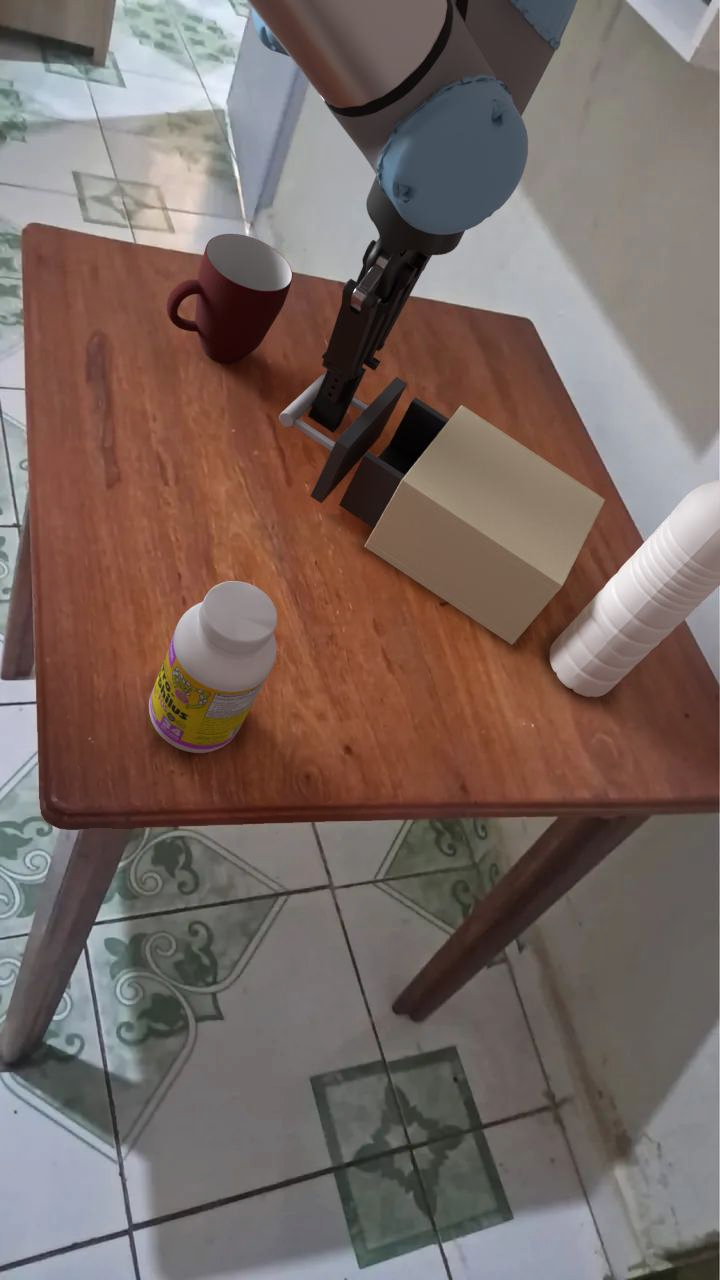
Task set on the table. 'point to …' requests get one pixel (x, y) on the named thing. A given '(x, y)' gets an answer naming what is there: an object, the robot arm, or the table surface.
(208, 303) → the mug
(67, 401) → the table surface
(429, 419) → the dark grey drawer
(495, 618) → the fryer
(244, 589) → the supplement bottle
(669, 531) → the water bottle
